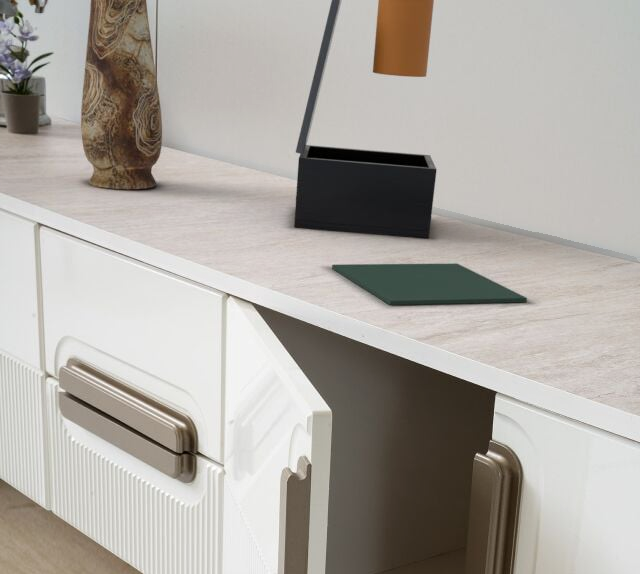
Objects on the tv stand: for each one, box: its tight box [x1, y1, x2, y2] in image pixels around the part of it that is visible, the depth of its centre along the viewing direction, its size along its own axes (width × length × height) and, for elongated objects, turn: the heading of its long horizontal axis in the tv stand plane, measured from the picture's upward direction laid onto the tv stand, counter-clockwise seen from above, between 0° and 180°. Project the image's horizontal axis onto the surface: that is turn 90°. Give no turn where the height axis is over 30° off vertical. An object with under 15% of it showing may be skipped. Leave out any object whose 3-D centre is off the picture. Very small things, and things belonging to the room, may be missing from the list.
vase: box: [80, 0, 163, 190], centre depth 142 cm, size 10×11×30 cm
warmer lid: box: [295, 0, 343, 155], centre depth 129 cm, size 16×13×1 cm
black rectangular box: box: [293, 144, 437, 239], centre depth 134 cm, size 16×13×8 cm
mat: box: [331, 263, 528, 306], centre depth 108 cm, size 14×14×1 cm
